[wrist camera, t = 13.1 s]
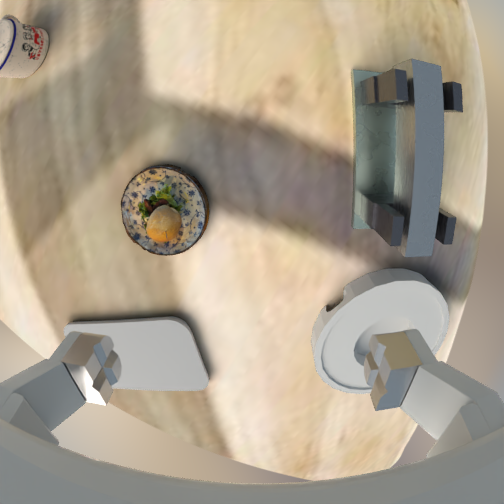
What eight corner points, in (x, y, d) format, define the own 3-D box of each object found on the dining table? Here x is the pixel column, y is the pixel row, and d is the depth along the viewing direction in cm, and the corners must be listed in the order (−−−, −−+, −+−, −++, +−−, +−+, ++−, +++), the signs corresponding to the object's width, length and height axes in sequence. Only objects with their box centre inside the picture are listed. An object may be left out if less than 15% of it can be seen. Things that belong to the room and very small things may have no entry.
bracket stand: (350, 70, 29) (382, 51, 19) (421, 81, 28) (467, 72, 19) (351, 226, 37) (378, 260, 27) (416, 225, 36) (456, 256, 27)
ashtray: (311, 386, 49) (313, 402, 46) (308, 277, 40) (312, 292, 37) (424, 364, 47) (431, 378, 44) (448, 258, 38) (461, 269, 35)
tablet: (214, 381, 50) (212, 390, 48) (99, 379, 52) (95, 386, 50) (188, 309, 43) (185, 318, 41) (64, 317, 46) (58, 324, 44)
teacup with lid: (54, 59, 28) (1, 51, 17) (16, 89, 29) (-35, 91, 18) (47, 5, 23) (1, -10, 13) (11, 36, 25) (-35, 30, 14)
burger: (165, 145, 34) (142, 150, 27) (229, 212, 37) (221, 232, 30) (110, 209, 37) (82, 226, 30) (168, 267, 41) (151, 295, 34)
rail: (392, 66, 24) (411, 58, 20) (420, 71, 24) (440, 66, 19) (389, 241, 32) (404, 257, 27) (414, 240, 31) (431, 255, 27)
